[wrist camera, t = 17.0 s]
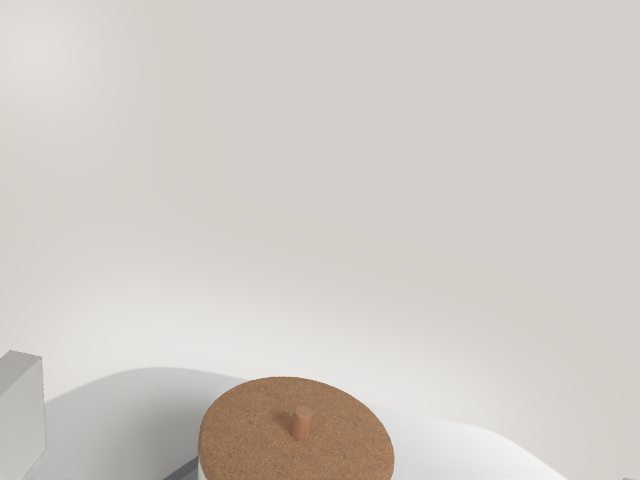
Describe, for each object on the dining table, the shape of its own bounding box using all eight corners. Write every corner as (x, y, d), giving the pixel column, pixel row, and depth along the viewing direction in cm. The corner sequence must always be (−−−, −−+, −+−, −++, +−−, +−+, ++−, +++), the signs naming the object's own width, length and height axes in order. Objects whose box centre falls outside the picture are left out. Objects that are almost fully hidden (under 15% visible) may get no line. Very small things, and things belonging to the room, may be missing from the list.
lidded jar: (231, 449, 40) (249, 335, 36) (379, 500, 38) (412, 386, 34) (150, 581, 30) (163, 443, 26) (343, 661, 28) (385, 523, 24)
